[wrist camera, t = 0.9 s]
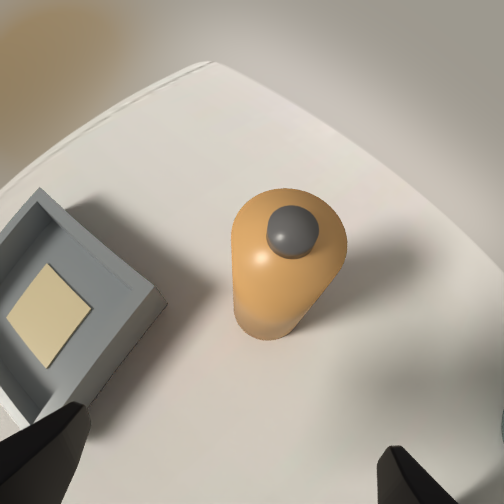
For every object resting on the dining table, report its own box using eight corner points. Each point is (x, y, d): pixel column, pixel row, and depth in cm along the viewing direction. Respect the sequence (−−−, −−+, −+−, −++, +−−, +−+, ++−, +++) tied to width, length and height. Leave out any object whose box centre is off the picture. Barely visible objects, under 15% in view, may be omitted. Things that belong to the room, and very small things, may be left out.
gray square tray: (167, 303, 23) (154, 285, 19) (62, 441, 18) (34, 446, 14) (59, 211, 26) (39, 186, 22) (-27, 324, 21) (-54, 312, 17)
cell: (312, 299, 24) (371, 216, 13) (276, 353, 22) (315, 312, 11) (258, 264, 25) (274, 160, 14) (220, 315, 23) (205, 239, 12)
